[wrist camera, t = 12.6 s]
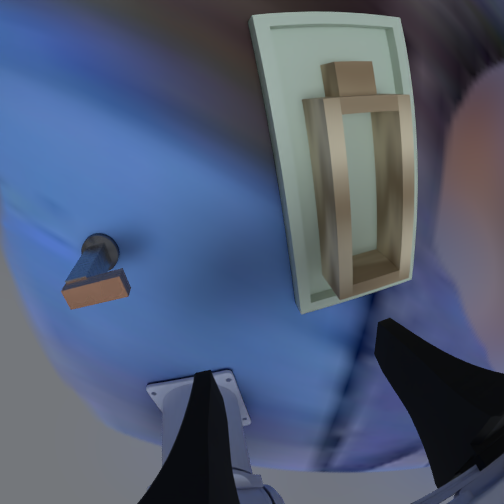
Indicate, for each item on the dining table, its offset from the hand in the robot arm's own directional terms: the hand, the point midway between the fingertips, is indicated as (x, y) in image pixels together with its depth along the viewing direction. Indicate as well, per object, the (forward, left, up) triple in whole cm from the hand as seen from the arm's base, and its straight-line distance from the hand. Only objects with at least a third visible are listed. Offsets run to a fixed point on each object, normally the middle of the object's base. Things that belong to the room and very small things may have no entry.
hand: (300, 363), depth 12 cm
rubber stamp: (+3, +10, -10) cm, 14 cm away
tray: (+5, -7, -10) cm, 13 cm away
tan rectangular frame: (+5, -7, -9) cm, 12 cm away
